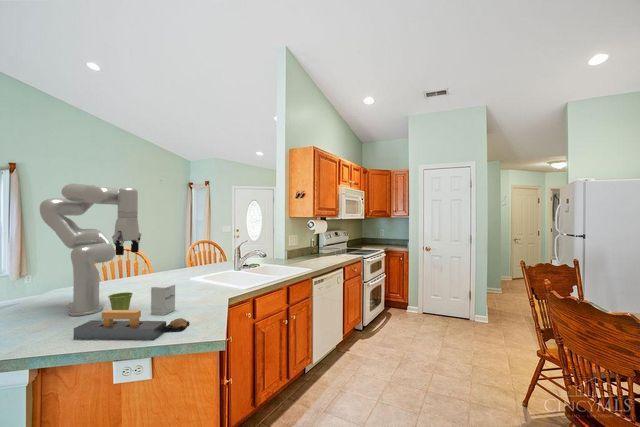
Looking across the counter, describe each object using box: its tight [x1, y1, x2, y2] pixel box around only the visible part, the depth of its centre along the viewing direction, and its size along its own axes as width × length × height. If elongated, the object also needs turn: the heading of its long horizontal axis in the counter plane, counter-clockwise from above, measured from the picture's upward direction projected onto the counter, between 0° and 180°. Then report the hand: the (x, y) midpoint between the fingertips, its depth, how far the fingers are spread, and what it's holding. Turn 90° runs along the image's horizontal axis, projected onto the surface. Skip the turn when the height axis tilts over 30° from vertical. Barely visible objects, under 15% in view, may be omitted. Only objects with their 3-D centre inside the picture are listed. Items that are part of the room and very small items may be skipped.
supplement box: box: [150, 283, 176, 316], centre depth 135 cm, size 7×7×13 cm
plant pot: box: [107, 291, 133, 310], centre depth 134 cm, size 9×9×9 cm
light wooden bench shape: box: [101, 309, 142, 327], centre depth 109 cm, size 13×3×8 cm, turn 89°
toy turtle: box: [165, 318, 190, 334], centre depth 117 cm, size 11×8×4 cm
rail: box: [73, 319, 167, 341], centre depth 109 cm, size 30×8×4 cm, turn 88°
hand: (127, 253), depth 130 cm, fingers open, 9 cm apart
